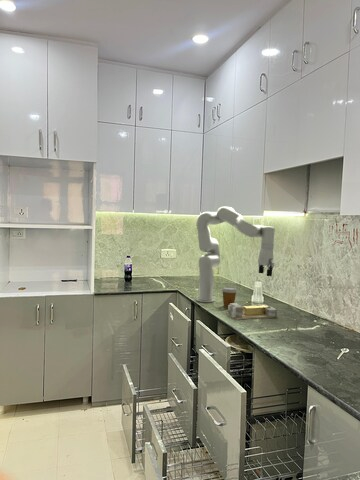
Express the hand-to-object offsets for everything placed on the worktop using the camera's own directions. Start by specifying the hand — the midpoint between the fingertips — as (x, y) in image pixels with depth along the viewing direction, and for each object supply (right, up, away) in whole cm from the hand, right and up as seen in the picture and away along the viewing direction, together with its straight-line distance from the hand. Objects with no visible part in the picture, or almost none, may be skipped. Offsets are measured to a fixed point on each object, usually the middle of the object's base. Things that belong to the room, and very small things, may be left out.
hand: (265, 274), depth 224 cm
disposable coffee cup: (-21, -22, +10) cm, 32 cm away
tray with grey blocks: (-10, -23, -8) cm, 27 cm away
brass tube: (-7, -22, -7) cm, 24 cm away
